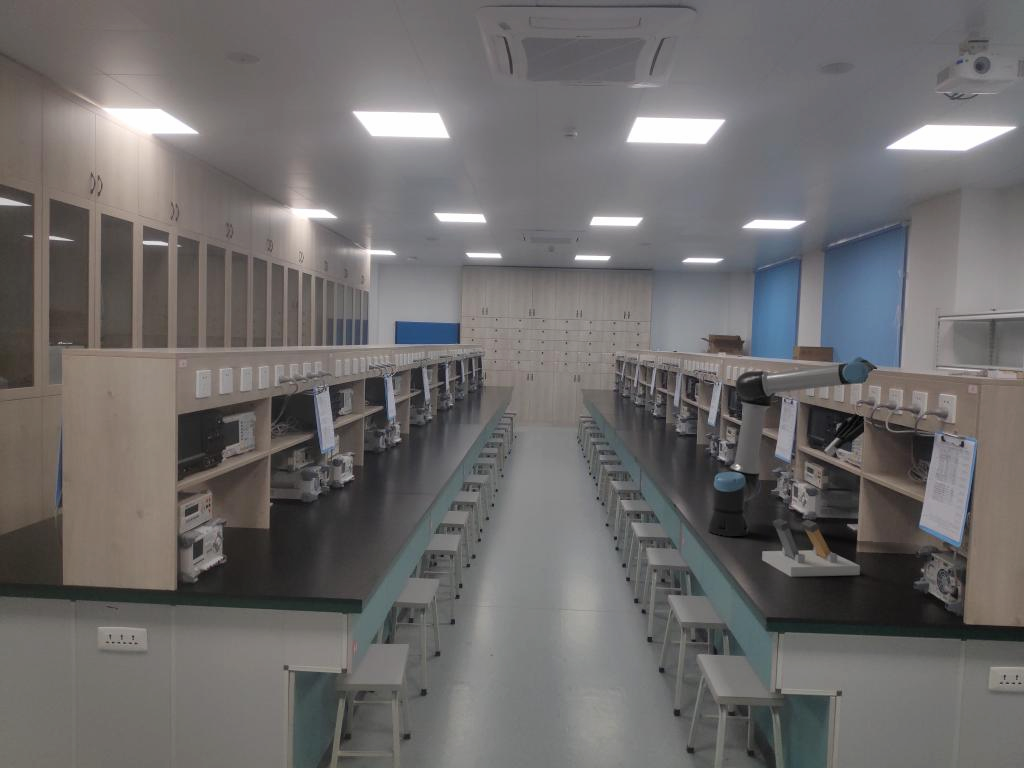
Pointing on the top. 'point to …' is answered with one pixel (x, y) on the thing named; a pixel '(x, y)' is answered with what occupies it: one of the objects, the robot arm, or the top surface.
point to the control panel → (810, 564)
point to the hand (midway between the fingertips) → (827, 453)
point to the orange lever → (816, 538)
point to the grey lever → (786, 537)
